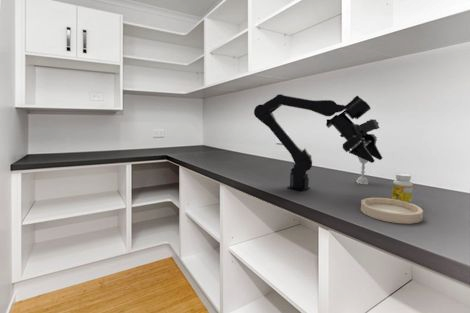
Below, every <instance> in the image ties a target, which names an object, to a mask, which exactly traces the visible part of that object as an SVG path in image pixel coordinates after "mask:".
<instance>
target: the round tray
mask: <svg viewBox="0 0 470 313" xmlns="http://www.w3.org/2000/svg"><path fill="white" fill-rule="evenodd" d="M360 202H361V203H360V212H362V213H363V214H364V215H365V216H368V217H370V218H372V219H376V220H379V221H383V222H389V223H394V224H411V225H412V224H417V223H420V222H422V221H423V216H424V210H423V209H422V207H420V206H419V205H417V204H414V203H412V202H411V203H408V202H405V201H400V200H395V199H392V198H386V197H368V198H367V197H365V198H364V199H361V200H360Z"/></svg>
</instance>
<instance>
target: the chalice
mask: <svg viewBox="0 0 470 313" xmlns="http://www.w3.org/2000/svg"><path fill="white" fill-rule="evenodd" d="M357 158H358V161H359V163H360V164H361V167H360V169H361V171H360V173H361V175H360V176H359V177H358V178H357V179H356V181H355V183H356V182H357V183H356V184H359V183H360V184H361V185H369V184H368V183H369V181H368V179H367V177H365V173H366V172H365V169H366V166H365V164H367V163H368V162H369V161H367V160H365V159H362V158H360V157H358V156H357Z"/></svg>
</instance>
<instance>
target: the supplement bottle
mask: <svg viewBox="0 0 470 313" xmlns="http://www.w3.org/2000/svg"><path fill="white" fill-rule="evenodd" d="M411 177H412V175H411V174H406V173H396V174H395V180H393V181H392V192H391V193H392V194H391V199H395V200H400V201H405V202H408V203H411V204H412V200H413V189H414V188H413V187H414V184H413V182H412V181H411V179H412V178H411Z"/></svg>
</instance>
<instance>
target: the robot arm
mask: <svg viewBox="0 0 470 313" xmlns="http://www.w3.org/2000/svg"><path fill="white" fill-rule="evenodd" d="M281 106H286V107H291V108H297V109H303V110H307V111H311V112H313V113H316V114H319V115H322V116H323V117H332V116H333V117H332V118H329V119H326V123H325V124H326V125H325V126H326V127H327V128H328V129H330V128H331V127H332V126H333V127H334V128H335V130H337V131H338V133H339V134H340V135H339V136H340V137H341V138H344V140H346V141H345V142H343V143H342V149H343V150H344V152H346V153H349V154H351V155H354V156H355V157H357V158H358V157H360V158H362V159H365V160H367V161H368V162H369V163H371V164H373V163H374V162H376V161H375V159H377V160H378V161H381V160H382V159H383V156H382V154H381V153H380V151H379V149H378V147H377V141H378V139H377V138H378V137H377V136H375V134H374V133H369V132H372V131H374V130H378V129H380V125H379V122H378V121H377V119H370V120H366V122H362V123H361V124H357V123H354V122H353V121H352V120H354V119H355V120H358V119H360V118H361V117H362V116H364V115H365V114H366V113H367V112H369V111H370V110H371V106H370V104H368V102H367V101H366V100H364V99H362V98H361V97H359V95H356V96H355V97H353V98H352V100H350V101H349V102H348V103H347V104H345V105H344V104H339V103H336V102H335V101H334V100H332V99H319V100H317V99H316V100H311V99H308V98H307V99H306V98H300V97H296V96H295V97H294V96H289V95H284V94H281V93H279V94H277V95H275V97H272V98H271V99H270V100H267V101H266V102H264V103H263V104H258V105H256V106H255V107H254V111H253V115H254V116H255V118H257V120H259V121H260V122H261V123H262V124H263V125H266V127H268V128H269V130H270V131H271V132H272V133H273V134H274V136H275V137H276V138H277V139H278V141H279V142H280V143H281V144H282V145H283V147H284V148H285V149H286V150H287V152H289V154H290V156H291V158H292V160H293V162H294V164H293V165H292V167H291V169H290V171H291V172H290V173H289V174H290V175H289V186H288V185H287V189H290V190H295V191H300V192H301V191H305V190H309V189H310V186H309V182H310V181H309V179H310V178H309V174H308V173H307V171H310V170H311V169H312V166H313V159H312V155H311V154H309V152H308V151H307V148H304V149H301V148H299V147H298V145H297V144H296V143H295V142H294V140H292V138H291V137H290V135H289V134H288V133H287V132H286V131H285V130H284V128H283V127H282V125H280V124H279V123H278V121H277V120H276V118H275V115H274V114H273V112H275V111H276V110H277V109H278V108H280V107H281ZM337 113H339V114H337Z"/></svg>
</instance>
